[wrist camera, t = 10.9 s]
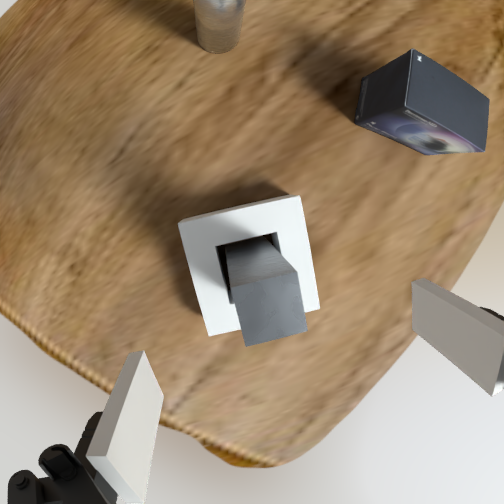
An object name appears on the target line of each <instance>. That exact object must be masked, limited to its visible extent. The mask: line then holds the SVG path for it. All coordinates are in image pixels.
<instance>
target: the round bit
mask: <svg viewBox="0 0 504 504" xmlns="http://www.w3.org/2000/svg"><path fill="white" fill-rule="evenodd" d="M193 2H194V12H195V21H196V30H197V38H198V43H199V45H200V46H201V47H202V48H203V49H204V50H205V51H207V52H210V53H215V54H220V53H225V52H228V51H230V50H232V49H233V48H234V47H235V46H236V45H237V43H238V41H239V36H240V31H241V25H242V19H243V14H244V8H245V3H246V0H193Z"/></svg>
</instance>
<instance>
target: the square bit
mask: <svg viewBox="0 0 504 504" xmlns="http://www.w3.org/2000/svg"><path fill="white" fill-rule="evenodd" d="M225 251H226V259H227V266H228V273H229V281H230V288H231V292H232V296H233V300H234V303H235V307H236V311H237V315H238V319H239V323H240V327H241V330H242V334H243V338H244V342H245V346H246V347H247V346H251V345H255V344H259V343H263V342H267V341H271V340H275V339H279V338H283V337H287V336H290V335H294V334H298V333H301V332H305V331H308V330H307V324H306V318H305V312H304V306H303V301H302V295H301V289H300V284H299V278H298V273H297V271H296V270H295V269H294V268H293V267H292V265H291V264H290V263H289V262H288V261H287V260H286V259H285V258H284V257H283V256H282V255H281V254H280V253H279V252H278V251H277V250H276V249H275V248H274V246H273V245H272V244H271V243H270V242H269V241H268V240H267V239H266V238H265V237H264V236H261V237H256V238H252V239H248V240H244V241H239V242H235V243H231V244H227V245H225Z"/></svg>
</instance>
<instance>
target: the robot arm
mask: <svg viewBox="0 0 504 504" xmlns="http://www.w3.org/2000/svg"><path fill="white" fill-rule="evenodd" d="M412 330H413V331H414V332H416V333H417V334H418V335H419V336H421V337H422V338H423V339H424V340H426V341H427V342H428V343H429V344H430V345H432V346H433V347H434V348H435V349H436V350H438V351H439V352H440V353H441V354H443V355H444V356H445V357H446V358H447V359H448V360H450V361H451V362H452V363H453V364H454V365H456V366H457V367H458V368H459V369H460V370H461V371H463V372H464V373H465V374H466V375H467V376H469V377H470V378H471V379H472V380H473V381H474V382H476V383H477V384H478V385H479V386H480V387H481V388H483V389H484V390H485V391H486V392H487V393H488V394H489V395H491V396H494V395H495V394H497V393H498V392H500V391H501V390H502V389H504V317H503V316H502V315H498V313H496V312H494V311H492V310H491V309H487V308H483V307H477V306H476V305H474V304H472V303H470V302H468V301H466V300H464V299H463V298H461V297H459V296H457V295H455V294H454V293H452V292H450V291H448V290H446V289H444V288H442V287H440V286H438V285H437V284H435V283H433V282H431V281H429V280H427V279H425V278H421V279H418V280H415V281H413V282H412ZM163 398H164V396H163V393H162V391H161V389H160V387H159V385H158V382H157V380H156V378H155V376H154V373H153V371H152V369H151V366H150V364H149V362H148V359H147V357H146V354H145V352H144V351H138V352H132V353H129V355H128V357H127V359H126V361H125V363H124V365H123V368H122V370H121V372H120V374H119V377H118V379H117V381H116V383H115V386H114V388H113V390H112V392H111V395H110V397H109V399H108V402H107V404H106V407H105V409H104V411H103V412H96V413H95V414H94V415H93V416H92V417H91V418H90V419H89V420H88V423H87V425H86V427H85V431H84V432H83V434H82V438H81V439H80V441H79V443H78V445H77V448H76V450H75V452H74V454H73V452H72V451H71V450H70V449H69V447H68V446H66V445H63V444H56V445H53V446H50V447H48V448H47V449H45V450H44V451H43V452H42V454H41V455H40V458H39V460H38V461H39V466H40V467H41V468H42V469H43V470H44V472H45V473H46V474H47V475H48V476H49V477H45V478H39V479H38V478H37V477H36V476H35V475H34V474H33V473H32V472H31V471H29V470H21V471H19V472H16V473H15V474H14V475H13V476H12V477H11V478H10V480H9V483H8V504H116V501H117V496H119V497H120V498H121V499H122V500H123V501H124V502H125V503H129V504H131V503H132V504H145V498H146V491H147V485H148V479H149V473H150V467H151V461H152V456H153V450H154V444H155V439H156V434H157V428H158V423H159V418H160V413H161V408H162V403H163Z"/></svg>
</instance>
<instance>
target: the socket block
mask: <svg viewBox="0 0 504 504" xmlns="http://www.w3.org/2000/svg"><path fill="white" fill-rule="evenodd" d="M178 227H179V231H180V235H181V239H182V242H183V246H184V250H185V254H186V258H187V261H188V265H189V269H190V272H191V276H192V280H193V283H194V287H195V290H196V294H197V297H198V301H199V304H200V308H201V311H202V315H203V318H204V321H205V325H206V328H207V331H208V334H209V336H213V335H217V334H222V333H226V332H230V331H235V330H239V329H241V327H240V323H239V319H238V315H237V311H236V307H235V303H234V300H233V296H232V292H231V290H230V291H228V288H227V284H226V280H225V276H224V272H223V268H222V264H221V260H220V256H219V252H218V248H217V246H218V245H222V244H227V243H231V242H235V241H239V240H243V239H248V238H252V237H256V236H260V235H265V234H269V233H271V235H272V240H273V245H274V248H275V249H276V250H277V251H278V252H279V253H280V254H281V255H282V256H283V257H284V258H285V259H286V260H287V261H288V262H289V263H290V264H291V265H292V267H293V268H294V269H295V270H296V271H297V273H298V278H299V284H300V289H301V295H302V301H303V306H304V312H305V313H306V312H310V311H313V310H317V309H320V305H319V299H318V292H317V286H316V280H315V274H314V268H313V262H312V257H311V251H310V245H309V240H308V234H307V229H306V224H305V218H304V213H303V208H302V203H301V198H300V196H299V195H285V196H281V197H276V198H271V199H267V200H262V201H258V202H253V203H249V204H244V205H240V206H236V207H231V208H227V209H223V210H218V211H214V212H210V213H206V214H202V215H198V216H194V217H190V218H186V219H182V220H181V221H180V222H179V223H178Z"/></svg>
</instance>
